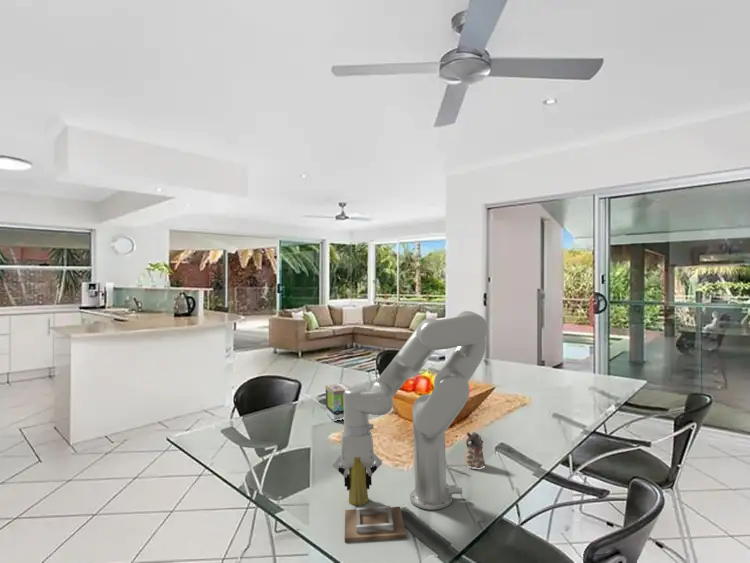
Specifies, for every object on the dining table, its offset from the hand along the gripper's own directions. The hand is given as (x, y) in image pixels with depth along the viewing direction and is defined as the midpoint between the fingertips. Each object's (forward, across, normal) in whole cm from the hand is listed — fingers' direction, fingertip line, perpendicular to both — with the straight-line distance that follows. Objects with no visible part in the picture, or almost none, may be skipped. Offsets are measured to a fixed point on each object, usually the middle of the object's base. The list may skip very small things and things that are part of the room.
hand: (358, 487), depth 135 cm
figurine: (+4, -42, -20) cm, 47 cm away
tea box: (+4, +8, -84) cm, 84 cm away
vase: (+4, 0, 0) cm, 4 cm away
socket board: (+4, -4, +14) cm, 15 cm away
